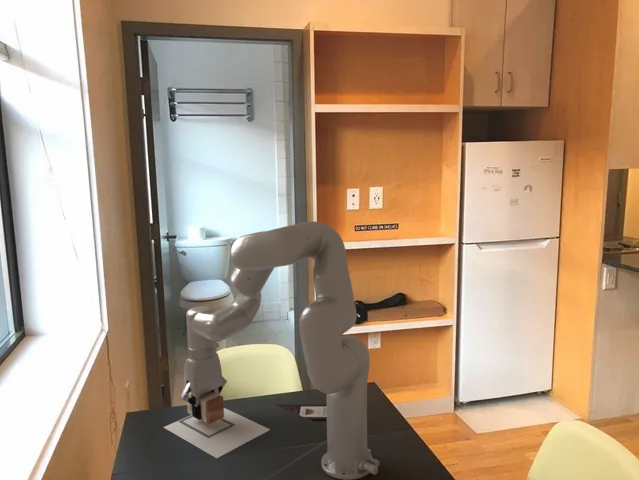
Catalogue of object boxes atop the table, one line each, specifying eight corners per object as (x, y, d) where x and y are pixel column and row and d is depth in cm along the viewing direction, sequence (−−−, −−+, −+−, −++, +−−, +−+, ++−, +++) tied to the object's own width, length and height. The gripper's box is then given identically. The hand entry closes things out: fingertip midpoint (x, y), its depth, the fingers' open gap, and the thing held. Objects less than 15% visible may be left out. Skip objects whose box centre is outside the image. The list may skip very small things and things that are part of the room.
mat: (270, 431, 142) (270, 429, 142) (216, 460, 129) (216, 457, 128) (216, 405, 158) (216, 403, 158) (163, 429, 144) (163, 426, 144)
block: (187, 412, 147) (186, 392, 146) (202, 406, 151) (201, 386, 150) (209, 424, 141) (208, 403, 140) (224, 417, 144) (223, 396, 143)
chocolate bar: (271, 404, 157) (331, 404, 156) (271, 407, 157) (331, 407, 156) (267, 419, 148) (330, 419, 147) (267, 422, 148) (330, 422, 147)
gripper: (219, 340, 152) (221, 399, 154) (167, 357, 139) (171, 421, 142) (235, 346, 147) (238, 407, 149) (183, 364, 134) (187, 430, 137)
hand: (205, 413), depth 146 cm, fingers closed on block, 5 cm apart
